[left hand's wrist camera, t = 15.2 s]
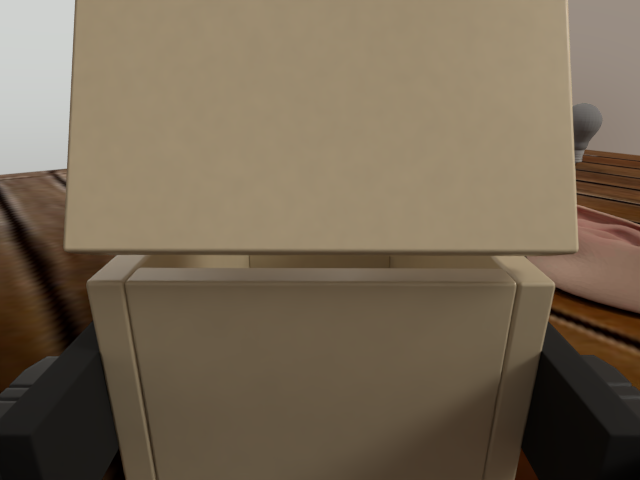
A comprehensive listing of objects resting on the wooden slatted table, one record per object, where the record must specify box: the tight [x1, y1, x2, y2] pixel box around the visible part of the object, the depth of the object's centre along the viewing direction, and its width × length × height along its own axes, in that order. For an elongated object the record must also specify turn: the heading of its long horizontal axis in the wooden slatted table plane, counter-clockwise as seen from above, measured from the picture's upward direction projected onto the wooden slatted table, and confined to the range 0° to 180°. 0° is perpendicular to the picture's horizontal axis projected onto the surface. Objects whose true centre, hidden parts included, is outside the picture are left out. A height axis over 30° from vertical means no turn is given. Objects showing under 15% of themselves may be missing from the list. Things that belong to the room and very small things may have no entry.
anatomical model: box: [527, 205, 640, 313], centre depth 32 cm, size 13×4×12 cm
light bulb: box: [572, 103, 602, 164], centre depth 74 cm, size 6×6×10 cm
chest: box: [86, 255, 555, 480], centre depth 18 cm, size 16×10×10 cm, turn 0°
